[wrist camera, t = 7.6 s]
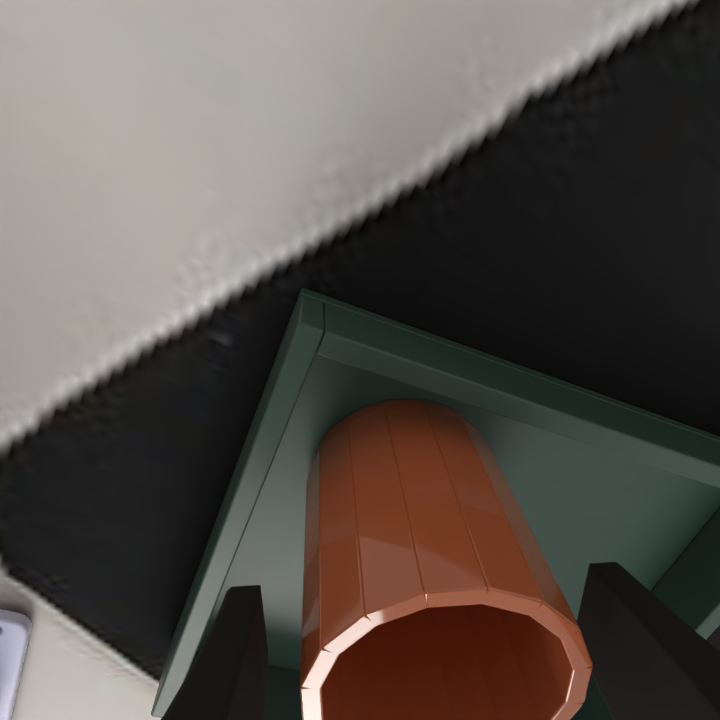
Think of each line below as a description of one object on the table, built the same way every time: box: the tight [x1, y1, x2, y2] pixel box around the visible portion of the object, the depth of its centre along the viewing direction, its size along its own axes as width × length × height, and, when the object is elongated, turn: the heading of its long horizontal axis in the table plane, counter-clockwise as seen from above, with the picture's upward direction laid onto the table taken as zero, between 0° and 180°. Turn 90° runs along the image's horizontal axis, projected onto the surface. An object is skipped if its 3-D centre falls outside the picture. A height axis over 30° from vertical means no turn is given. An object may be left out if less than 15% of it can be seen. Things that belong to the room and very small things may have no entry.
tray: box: [151, 288, 720, 720], centre depth 17 cm, size 15×14×2 cm
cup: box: [300, 399, 593, 720], centre depth 13 cm, size 5×5×6 cm
